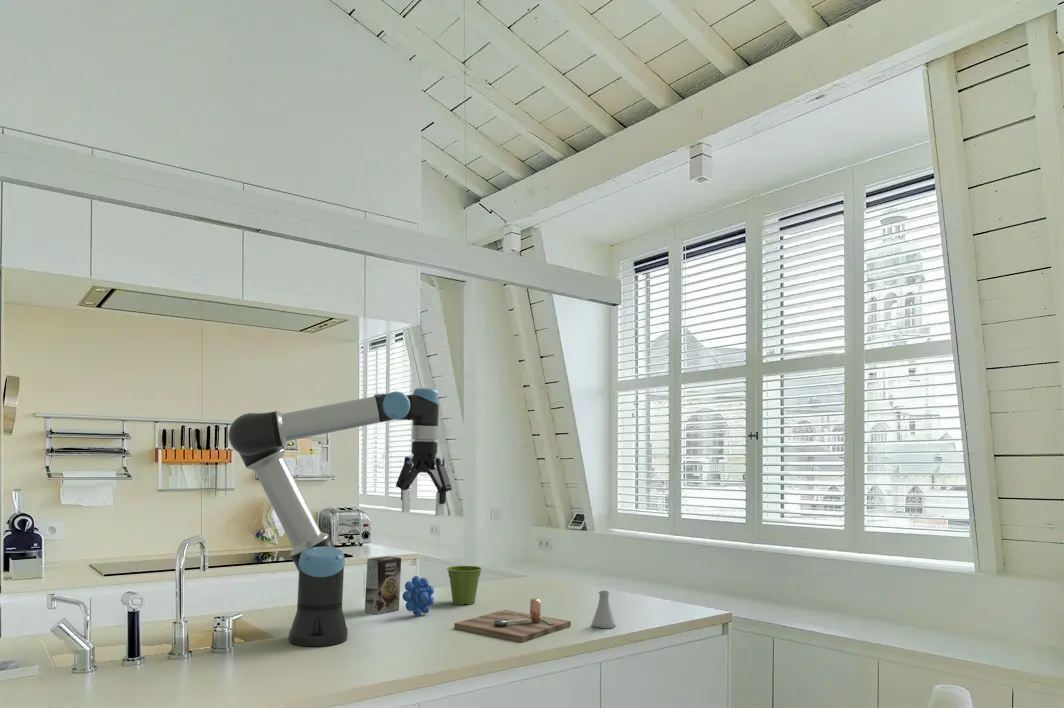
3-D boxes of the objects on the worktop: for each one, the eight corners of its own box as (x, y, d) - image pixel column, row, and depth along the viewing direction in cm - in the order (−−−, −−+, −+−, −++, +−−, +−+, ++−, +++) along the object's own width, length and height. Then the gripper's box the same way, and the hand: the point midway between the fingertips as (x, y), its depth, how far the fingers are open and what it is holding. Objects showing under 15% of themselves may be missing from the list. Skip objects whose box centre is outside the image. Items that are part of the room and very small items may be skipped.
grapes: (410, 621, 240) (412, 579, 241) (397, 617, 245) (398, 576, 246) (441, 615, 248) (443, 575, 249) (428, 611, 253) (429, 572, 254)
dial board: (522, 642, 218) (522, 635, 218) (454, 628, 232) (454, 622, 232) (570, 626, 238) (570, 620, 238) (505, 614, 251) (505, 608, 252)
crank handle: (497, 626, 228) (498, 604, 228) (492, 623, 231) (492, 601, 231) (544, 621, 234) (544, 600, 235) (538, 619, 238) (538, 597, 238)
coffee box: (378, 614, 247) (380, 560, 249) (363, 611, 251) (366, 558, 253) (400, 610, 255) (402, 557, 256) (386, 607, 258) (388, 555, 260)
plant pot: (484, 600, 273) (485, 565, 274) (478, 607, 261) (479, 571, 262) (449, 598, 274) (450, 564, 275) (442, 605, 262) (443, 570, 263)
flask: (614, 629, 235) (615, 594, 236) (589, 628, 236) (590, 592, 237) (617, 624, 242) (617, 589, 243) (592, 622, 243) (593, 588, 244)
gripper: (465, 441, 237) (463, 515, 235) (403, 440, 251) (400, 509, 249) (448, 441, 231) (445, 517, 229) (385, 439, 245) (383, 511, 243)
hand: (422, 513), depth 239 cm, fingers open, 13 cm apart
